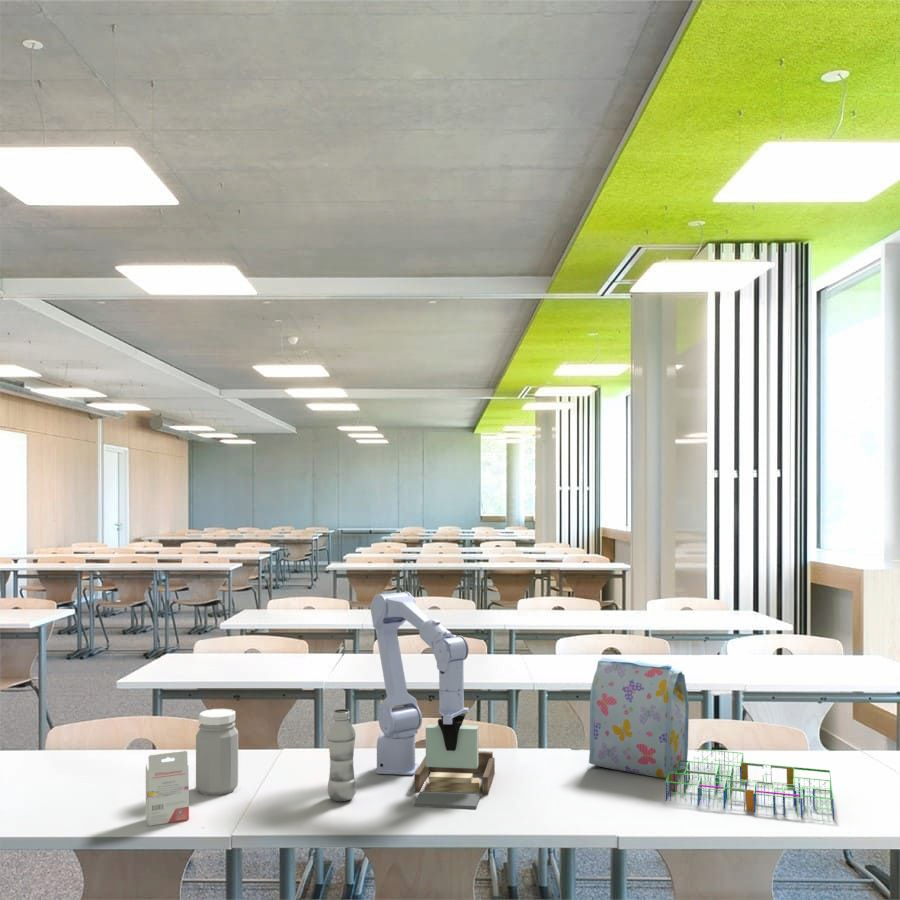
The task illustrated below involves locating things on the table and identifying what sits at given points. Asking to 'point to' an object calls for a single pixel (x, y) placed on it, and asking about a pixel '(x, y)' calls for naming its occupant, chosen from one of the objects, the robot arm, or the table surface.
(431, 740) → the pale green block
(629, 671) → the lunch bag
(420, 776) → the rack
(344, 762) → the plastic bottle
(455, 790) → the offcuts
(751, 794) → the house model
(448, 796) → the mat
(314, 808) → the table surface
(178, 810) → the ink cartridge box
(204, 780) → the jar
